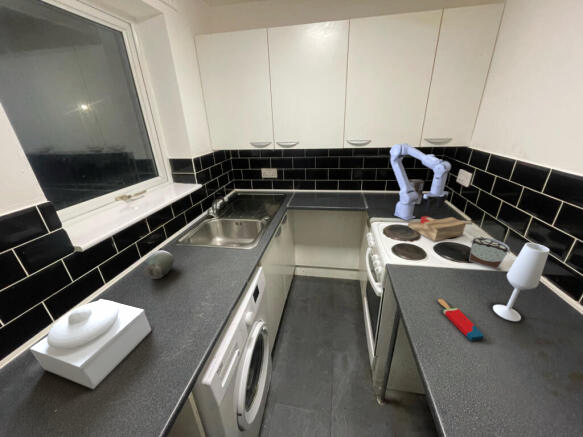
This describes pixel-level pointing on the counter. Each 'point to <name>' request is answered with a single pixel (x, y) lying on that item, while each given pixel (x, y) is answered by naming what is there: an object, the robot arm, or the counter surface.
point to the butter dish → (91, 341)
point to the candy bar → (426, 219)
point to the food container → (488, 252)
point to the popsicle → (461, 322)
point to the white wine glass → (524, 276)
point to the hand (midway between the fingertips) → (432, 209)
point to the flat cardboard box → (439, 228)
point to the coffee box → (417, 188)
